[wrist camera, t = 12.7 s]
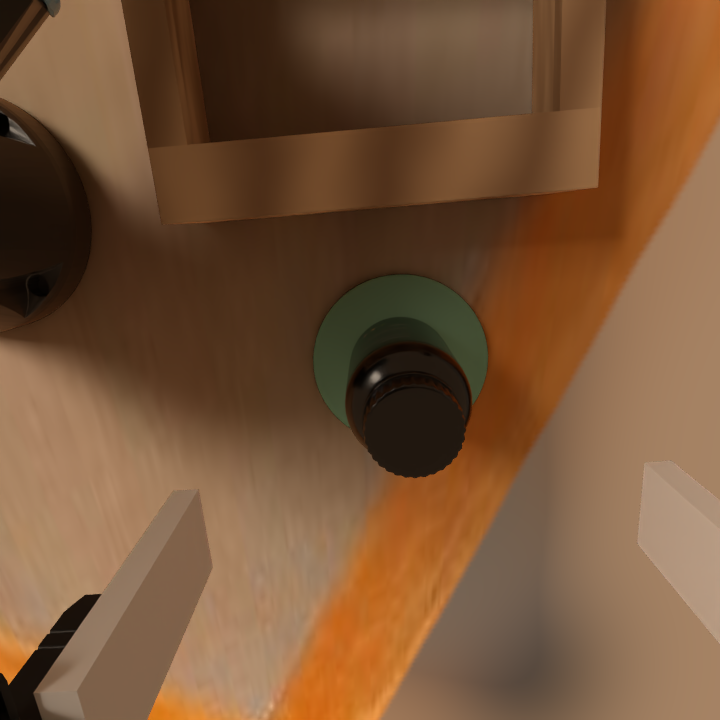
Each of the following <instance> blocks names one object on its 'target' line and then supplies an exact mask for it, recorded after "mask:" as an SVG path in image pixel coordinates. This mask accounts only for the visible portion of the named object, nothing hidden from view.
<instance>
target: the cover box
mask: <svg viewBox="0 0 720 720" xmlns="http://www.w3.org/2000/svg"><path fill="white" fill-rule="evenodd" d="M121 2H122V8H123V13H124V19H125V24H126V30H127V35H128V41H129V46H130V52H131V58H132V63H133V69H134V74H135V80H136V85H137V91H138V96H139V102H140V107H141V113H142V118H143V124H144V130H145V135H146V141H147V146H148V152H149V157H150V163H151V168H152V174H153V179H154V185H155V190H156V196H157V202H158V207H159V213H160V218H161V224H162V225H163V224H191V223H210V222H222V221H234V220H246V219H258V218H269V217H281V216H293V215H305V214H317V213H329V212H340V211H352V210H364V209H376V208H388V207H399V206H411V205H423V204H435V203H447V202H459V201H470V200H482V199H494V198H506V197H518V196H529V195H541V194H552V193H560V192H568V191H575V190H583V189H591V188H598V179H599V157H600V134H601V111H602V88H603V66H604V43H605V20H606V0H533V75H532V114H521V115H510V116H499V117H488V118H477V119H466V120H455V121H444V122H433V123H422V124H411V125H400V126H389V127H378V128H367V129H356V130H345V131H334V132H323V133H312V134H301V135H290V136H279V137H268V138H257V139H246V140H235V141H224V142H213V143H210V137H209V131H208V124H207V117H206V111H205V104H204V97H203V90H202V84H201V77H200V70H199V64H198V57H197V50H196V44H195V37H194V30H193V23H192V17H191V10H190V3H189V0H121Z"/></svg>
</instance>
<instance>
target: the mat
mask: <svg viewBox="0 0 720 720" xmlns="http://www.w3.org/2000/svg"><path fill="white" fill-rule="evenodd" d="M392 317H409V318H414V319H417V320H420V321H422V322H424V323H426V324H428V325H429V326H431V327H432V328H433V329H434V330H435V331H436V332H437V333H438V334H439V335H440V336H441V337H442V339H443V340H444V341H445V343H446V345H447V346H448V348H449V349H450V351H451V352H452V354H453V355H454V357H455V358H456V360H457V361H458V363H459V364H460V366H461V367H462V369H463V371H464V372H465V375H466V377H467V379H468V382H469V384H470V388H471V392H472V405H473V404H474V402H475V401H476V399H477V398H478V396H479V394H480V392H481V389H482V387H483V384H484V381H485V378H486V372H487V366H488V350H487V343H486V338H485V334H484V331H483V329H482V326H481V324H480V322H479V320H478V318H477V316H476V314H475V313H474V312H473V310H472V309H471V308H470V306H469V305H468V304H467V303H466V302H465V301H464V300H463V299H462V298H461V297H460V296H459V295H458V294H456V293H455V292H454V291H452V290H451V289H450V288H448V287H446V286H445V285H443V284H441V283H439V282H437V281H434V280H432V279H429V278H425V277H422V276H417V275H409V274H393V275H386V276H381V277H378V278H374V279H371V280H369V281H366V282H364V283H362V284H360V285H358V286H356V287H355V288H353V289H351V290H350V291H349V292H347V293H346V294H345V295H344V296H342V297H341V298H340V299H339V300H338V301H337V302H336V303H335V304H334V306H333V307H332V308H331V310H330V311H329V312H328V314H327V315H326V317H325V319H324V321H323V323H322V325H321V327H320V329H319V332H318V335H317V338H316V342H315V346H314V356H313V364H314V374H315V379H316V383H317V386H318V389H319V391H320V393H321V396H322V398H323V400H324V401H325V403H326V404H327V406H328V407H329V409H330V410H331V411H332V412H333V414H334V415H335V416H336V417H337V418H338V419H339V420H340V421H341V422H343V423H344V424H345V425H346V426H348V427H349V428H350V426H349V423H348V420H347V416H346V410H345V394H346V386H347V378H348V371H349V364H350V358H351V354H352V351H353V348H354V346H355V344H356V342H357V340H358V339H359V337H360V336H361V335H362V334H363V333H364V332H365V331H366V330H367V329H368V328H369V327H370V326H372V325H374V324H375V323H377V322H379V321H381V320H384V319H387V318H392Z"/></svg>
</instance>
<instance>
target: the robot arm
mask: <svg viewBox="0 0 720 720" xmlns="http://www.w3.org/2000/svg"><path fill="white" fill-rule="evenodd" d="M59 10H60V0H0V80H1V79H2V78H3V76H4V75H5V74H6V72H7V71H8V70H9V68H10V67H11V66H12V64H13V63H14V61H15V60H16V59H17V57H18V56H19V55H20V53H21V52H22V51H23V49H24V48H25V47H26V45H27V44H28V43H29V41H30V40H31V39H32V37H33V36H34V35H35V33H36V32H37V31H38V29H39V28H40V27H41V25H42V24H43V23H44V21H45V20H46V19H47V17H48V16H49V15H51V16H52V17H55V16H56V15H57V13H58V12H59ZM90 245H91V219H90V212H89V206H88V202H87V198H86V195H85V191H84V188H83V186H82V183H81V181H80V178H79V176H78V174H77V172H76V170H75V168H74V166H73V164H72V162H71V161H70V159H69V158H68V156H67V154H66V153H65V151H64V150H63V149H62V147H61V146H60V145H59V143H58V142H57V141H56V140H55V139H54V137H53V136H52V135H51V134H50V133H49V132H48V131H47V130H46V129H45V128H44V127H43V126H42V125H41V124H40V123H39V122H38V121H36V120H35V119H34V118H33V117H31V116H30V115H29V114H27V113H26V112H25V111H23V110H22V109H20V108H18V107H17V106H15V105H14V104H12V103H10V102H8V101H6V100H4V99H2V98H0V332H2V331H6V330H10V329H13V328H17V327H20V326H23V325H26V324H30V323H32V322H35V321H37V320H39V319H42V318H44V317H45V316H47V315H49V314H50V313H52V312H53V311H55V310H56V309H57V308H58V307H60V306H61V305H62V304H63V303H64V302H65V301H66V300H67V299H68V298H69V296H70V295H71V294H72V293H73V291H74V290H75V288H76V287H77V285H78V283H79V281H80V280H81V277H82V275H83V273H84V270H85V268H86V265H87V261H88V257H89V252H90ZM637 544H638V545H639V547H640V548H641V549H642V550H643V551H644V553H645V554H646V555H647V556H648V558H649V559H650V560H651V561H652V562H653V564H654V565H655V566H656V567H657V568H658V570H659V571H660V572H661V573H662V575H663V576H664V577H665V578H666V579H667V581H668V582H669V583H670V584H671V585H672V587H673V588H674V589H675V590H676V592H677V593H678V594H679V595H680V596H681V598H682V599H683V600H684V601H685V603H686V604H687V605H688V606H689V607H690V609H691V610H692V611H693V612H694V614H696V616H697V617H698V618H699V620H700V621H701V622H702V623H703V624H704V626H705V627H706V628H707V629H708V631H709V632H710V633H711V634H712V635H713V637H714V638H715V639H716V640H717V642H718V643H719V644H720V500H719V499H718V498H717V497H716V496H714V495H713V494H712V493H711V492H709V491H708V490H707V489H706V488H704V487H703V486H702V485H700V484H699V483H698V482H697V481H696V480H694V479H693V478H692V477H691V476H689V475H688V474H687V473H686V472H685V471H683V470H682V469H681V468H680V467H678V466H677V465H676V464H675V463H674V462H672V461H658V462H645V463H644V473H643V485H642V495H641V506H640V517H639V528H638V539H637ZM212 568H213V565H212V560H211V554H210V549H209V543H208V538H207V532H206V527H205V522H204V516H203V511H202V505H201V500H200V494H199V489H193V490H177V491H173V492H172V493H171V495H170V496H169V498H168V499H167V501H166V502H165V503H164V505H163V506H162V508H161V509H160V511H159V512H158V514H157V515H156V516H155V518H154V519H153V521H152V522H151V524H150V525H149V527H148V528H147V529H146V531H145V532H144V534H143V535H142V537H141V538H140V540H139V541H138V542H137V544H136V545H135V547H134V548H133V550H132V551H131V553H130V554H129V555H128V557H127V558H126V560H125V561H124V563H123V564H122V566H121V567H120V569H119V570H118V571H117V573H116V574H115V576H114V577H113V579H112V580H111V582H110V583H109V584H108V586H107V587H106V589H105V590H104V592H103V593H102V594H94V595H84V596H83V597H82V598H81V599H79V600H78V601H77V602H76V603H74V604H73V605H72V606H71V607H70V608H68V609H67V610H66V611H65V612H64V613H63V614H62V615H61V617H60V618H59V619H58V621H57V622H56V623H55V625H54V626H53V627H52V629H51V630H50V634H47V635H46V637H45V638H44V639H43V641H42V642H41V643H40V645H39V646H38V650H35V651H34V653H33V654H32V655H31V657H30V658H29V659H28V661H27V662H26V663H25V664H24V666H23V667H22V668H21V670H20V671H19V672H18V674H17V675H16V676H15V678H14V679H13V680H12V682H11V683H10V684H9V686H8V683H7V680H6V679H5V677H4V676H3V674H2V673H0V720H147V719H148V716H149V714H150V712H151V709H152V707H153V705H154V702H155V700H156V698H157V696H158V693H159V691H160V689H161V686H162V684H163V682H164V679H165V677H166V675H167V672H168V670H169V668H170V665H171V663H172V661H173V658H174V656H175V654H176V651H177V649H178V647H179V644H180V642H181V640H182V637H183V635H184V633H185V631H186V628H187V626H188V624H189V621H190V619H191V617H192V614H193V612H194V610H195V607H196V605H197V603H198V600H199V598H200V596H201V593H202V591H203V589H204V586H205V584H206V582H207V579H208V577H209V575H210V573H211V570H212Z"/></svg>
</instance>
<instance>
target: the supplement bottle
mask: <svg viewBox="0 0 720 720" xmlns="http://www.w3.org/2000/svg"><path fill="white" fill-rule="evenodd" d="M345 410H346V416H347V420H348V423H349V426H350V428H351V430H352V432H353V434H354V435H355V437H356V438H357V439H358V441H359V442H360V443H361V444H362V445H363V446H364V447H365V448H366V449H367V450H368V452H369V453H370V454H371V455H372V458H373V459H374V460H375V461H377V462H378V464H379V466H381V467H384V468H385V469H386V470H387V471H388V472H393V473H394V474H395V475H402V476H403V477H405V478H407V477H413V478H418V477H420V476H421V477H426V476H428V475H429V474H435V473H436V472H438V471H440V470H443V469H444V468H445V467H446V466H447V465H449V464H451V462H452V460H453V459H454V458H456V457H457V455H458V452H459V451H460V450H461V449H462V443H463V442H464V440H465V436H464V433H465V431H466V427H467V425H468V423H469V420H470V416H471V411H472V392H471V388H470V384H469V382H468V379H467V377H466V375H465V372H464V371H463V369H462V367H461V366H460V364H459V363H458V361H457V360H456V358H455V357H454V355H453V354H452V352H451V351H450V349H449V348H448V346H447V345H446V343H445V341H444V340H443V339H442V337H441V336H440V335H439V334H438V333H437V332H436V331H435V330H434V329H433V328H432V327H431V326H429V325H428V324H426V323H424V322H422V321H420V320H417V319H414V318H409V317H392V318H387V319H384V320H381V321H379V322H377V323H375V324H374V325H372V326H370V327H369V328H368V329H367V330H366V331H365V332H364V333H363V334H362V335H361V336H360V337H359V339H358V340H357V342H356V344H355V346H354V348H353V351H352V354H351V358H350V364H349V371H348V378H347V386H346V394H345Z"/></svg>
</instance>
